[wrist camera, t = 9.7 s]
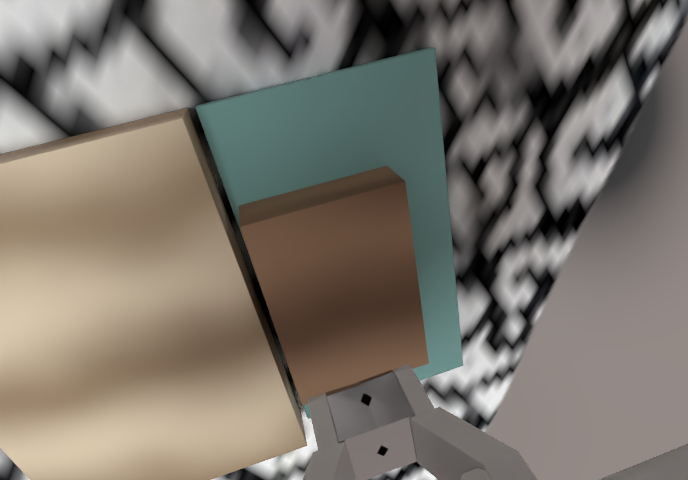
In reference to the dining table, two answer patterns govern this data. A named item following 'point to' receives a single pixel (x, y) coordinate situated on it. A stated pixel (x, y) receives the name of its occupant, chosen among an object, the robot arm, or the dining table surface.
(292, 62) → the dining table surface
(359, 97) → the mat
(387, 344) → the tile
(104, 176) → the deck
